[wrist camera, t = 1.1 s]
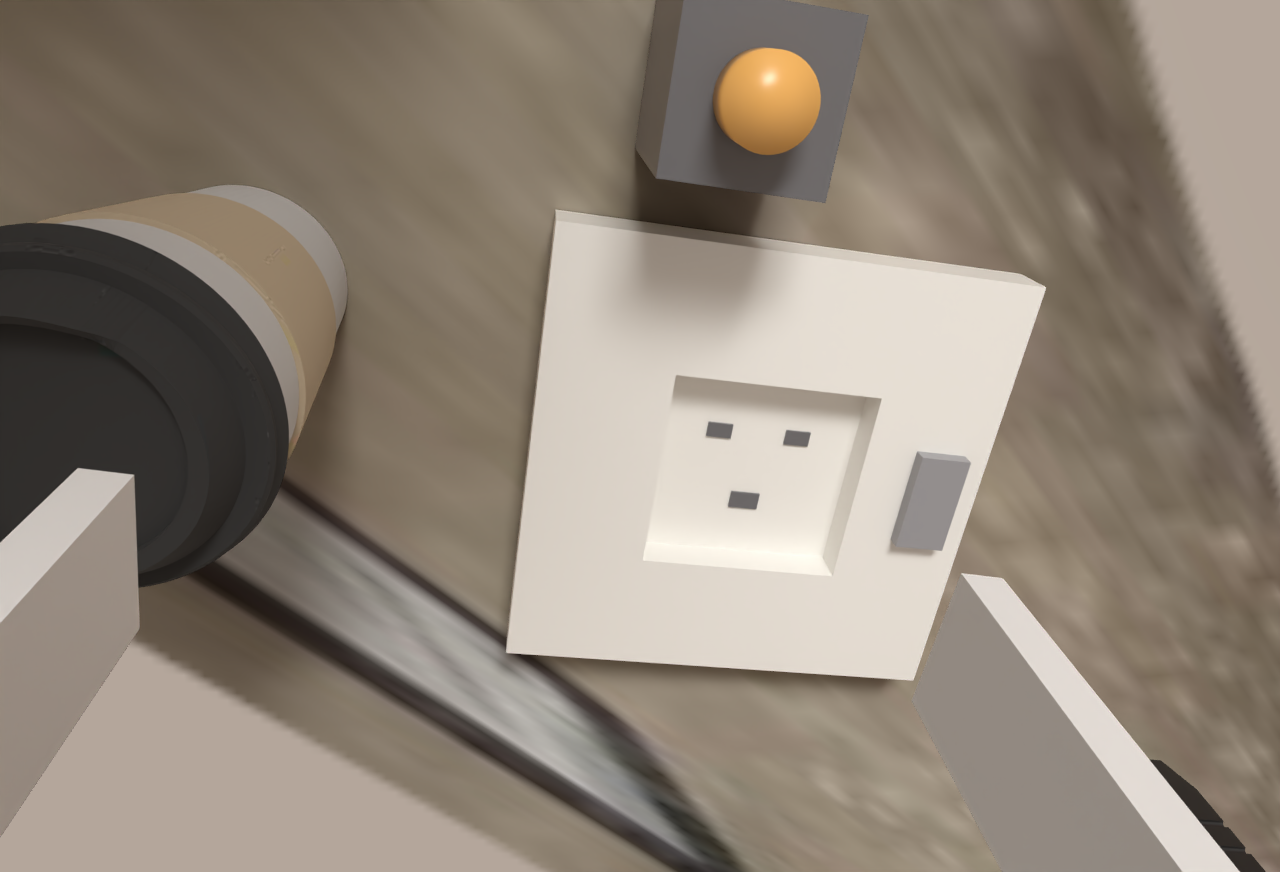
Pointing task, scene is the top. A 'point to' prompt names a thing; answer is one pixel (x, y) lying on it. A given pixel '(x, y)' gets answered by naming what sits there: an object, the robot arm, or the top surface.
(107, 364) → the coffee cup
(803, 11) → the plug
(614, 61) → the top surface
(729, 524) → the socket plate
